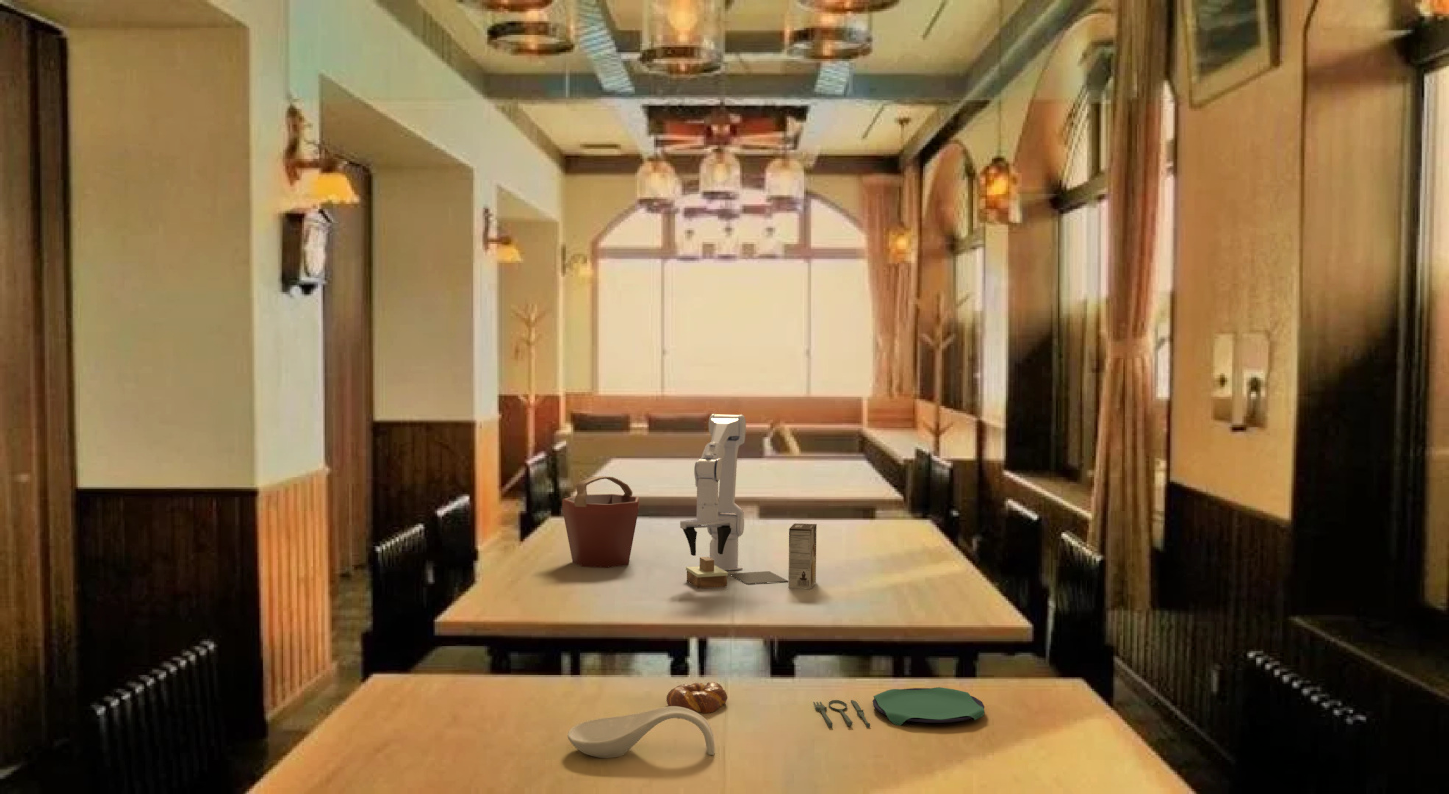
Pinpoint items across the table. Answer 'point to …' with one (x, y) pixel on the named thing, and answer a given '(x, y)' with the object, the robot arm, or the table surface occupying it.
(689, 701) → the pretzel
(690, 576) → the box
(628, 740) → the spoon rest
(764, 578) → the mat
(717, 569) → the lid
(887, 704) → the cutlery set
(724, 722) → the table surface
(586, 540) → the bucket
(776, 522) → the table surface
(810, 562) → the coffee box
